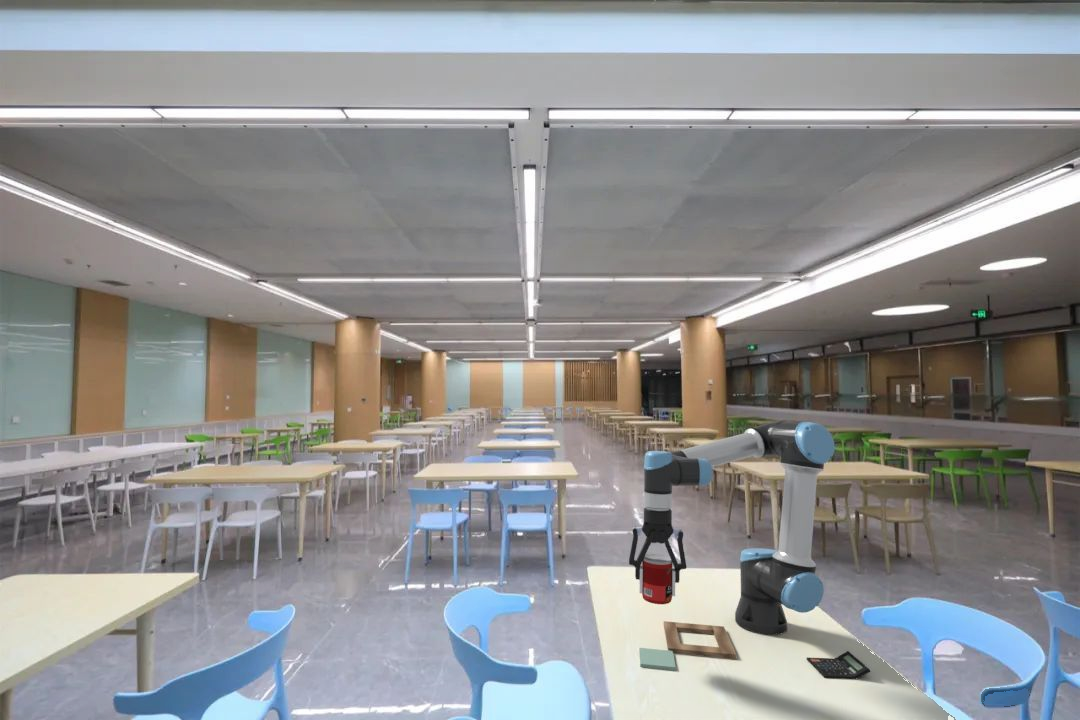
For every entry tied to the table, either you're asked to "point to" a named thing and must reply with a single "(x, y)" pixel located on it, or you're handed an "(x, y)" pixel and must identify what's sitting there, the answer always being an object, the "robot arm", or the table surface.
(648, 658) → the plate
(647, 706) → the table surface
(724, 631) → the pocket board
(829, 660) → the calculator
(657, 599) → the canned food
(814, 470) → the robot arm
